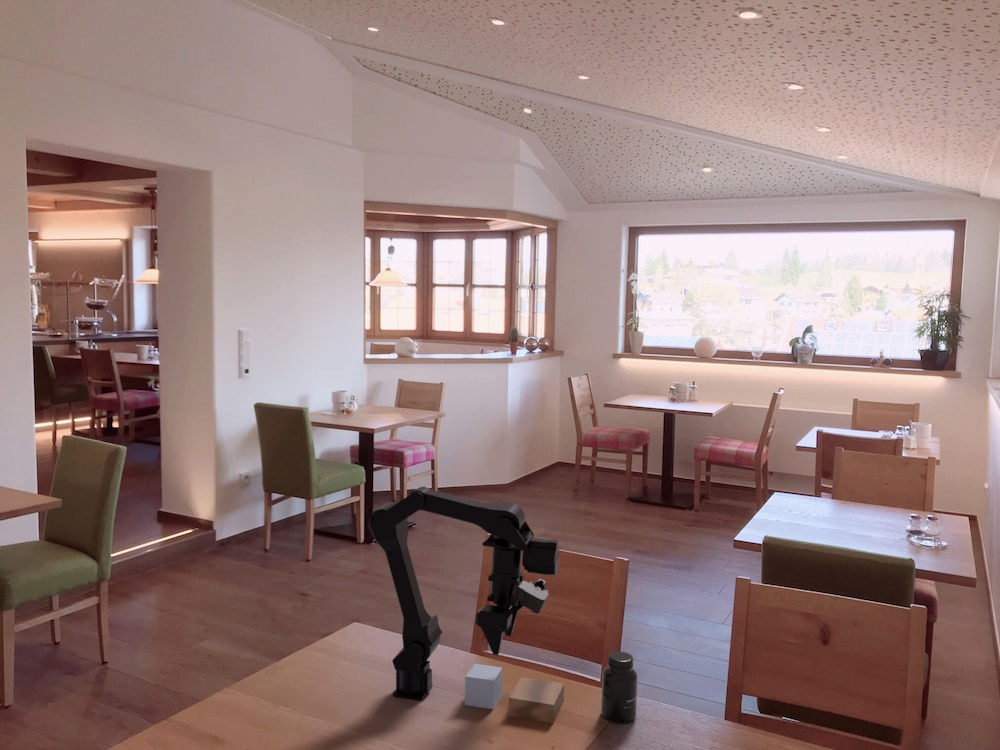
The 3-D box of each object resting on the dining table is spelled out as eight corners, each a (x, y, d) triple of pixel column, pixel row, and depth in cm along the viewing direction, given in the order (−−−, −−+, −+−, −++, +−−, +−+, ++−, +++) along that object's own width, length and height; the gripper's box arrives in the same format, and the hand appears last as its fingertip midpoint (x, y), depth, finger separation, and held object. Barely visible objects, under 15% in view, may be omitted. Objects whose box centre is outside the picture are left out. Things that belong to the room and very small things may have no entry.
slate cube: (465, 705, 160) (465, 676, 159) (474, 691, 166) (474, 663, 165) (493, 709, 158) (494, 680, 158) (502, 695, 164) (502, 667, 164)
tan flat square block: (508, 717, 156) (508, 697, 156) (520, 695, 165) (521, 677, 164) (553, 724, 153) (554, 704, 153) (563, 702, 162) (564, 683, 162)
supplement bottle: (635, 726, 153) (637, 665, 151) (599, 722, 154) (601, 662, 153) (636, 708, 159) (638, 650, 158) (602, 704, 161) (603, 647, 160)
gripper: (534, 590, 147) (530, 672, 148) (555, 560, 165) (551, 633, 166) (476, 582, 150) (473, 662, 151) (503, 552, 168) (500, 624, 169)
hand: (502, 644), depth 159 cm, fingers open, 9 cm apart
